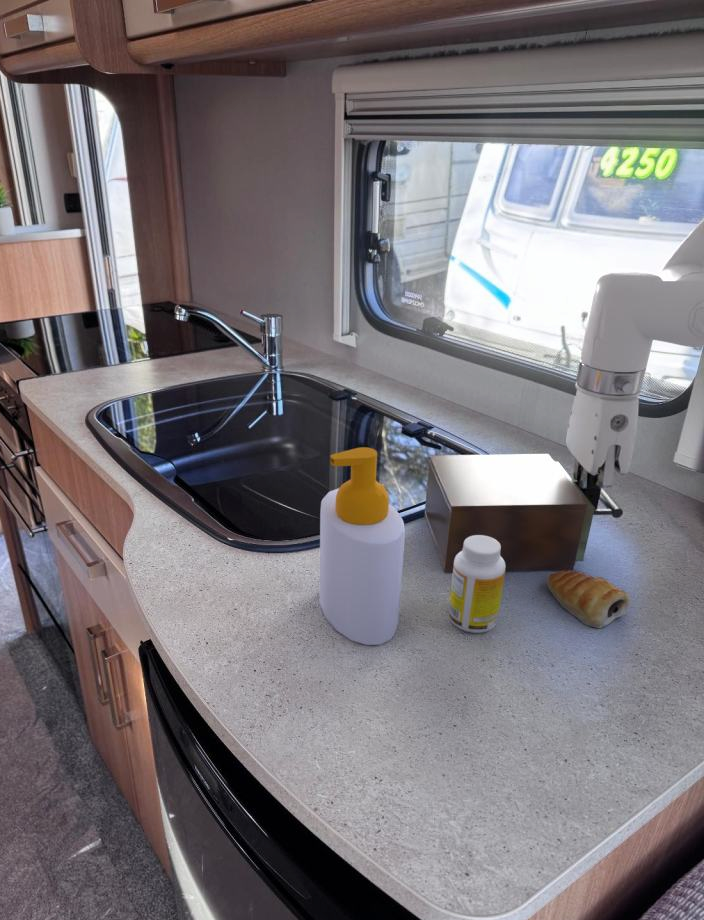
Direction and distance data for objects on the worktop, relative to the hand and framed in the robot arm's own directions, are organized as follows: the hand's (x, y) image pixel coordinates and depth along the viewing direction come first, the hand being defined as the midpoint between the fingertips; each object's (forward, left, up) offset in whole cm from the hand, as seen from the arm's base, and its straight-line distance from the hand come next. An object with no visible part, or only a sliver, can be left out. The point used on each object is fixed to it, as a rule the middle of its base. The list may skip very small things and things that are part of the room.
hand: (581, 510), depth 96 cm
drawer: (+7, 0, -4) cm, 7 cm away
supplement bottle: (+18, +17, -5) cm, 25 cm away
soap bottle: (+31, +15, -5) cm, 35 cm away
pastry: (+4, +15, -5) cm, 16 cm away
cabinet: (+11, 0, -5) cm, 12 cm away
